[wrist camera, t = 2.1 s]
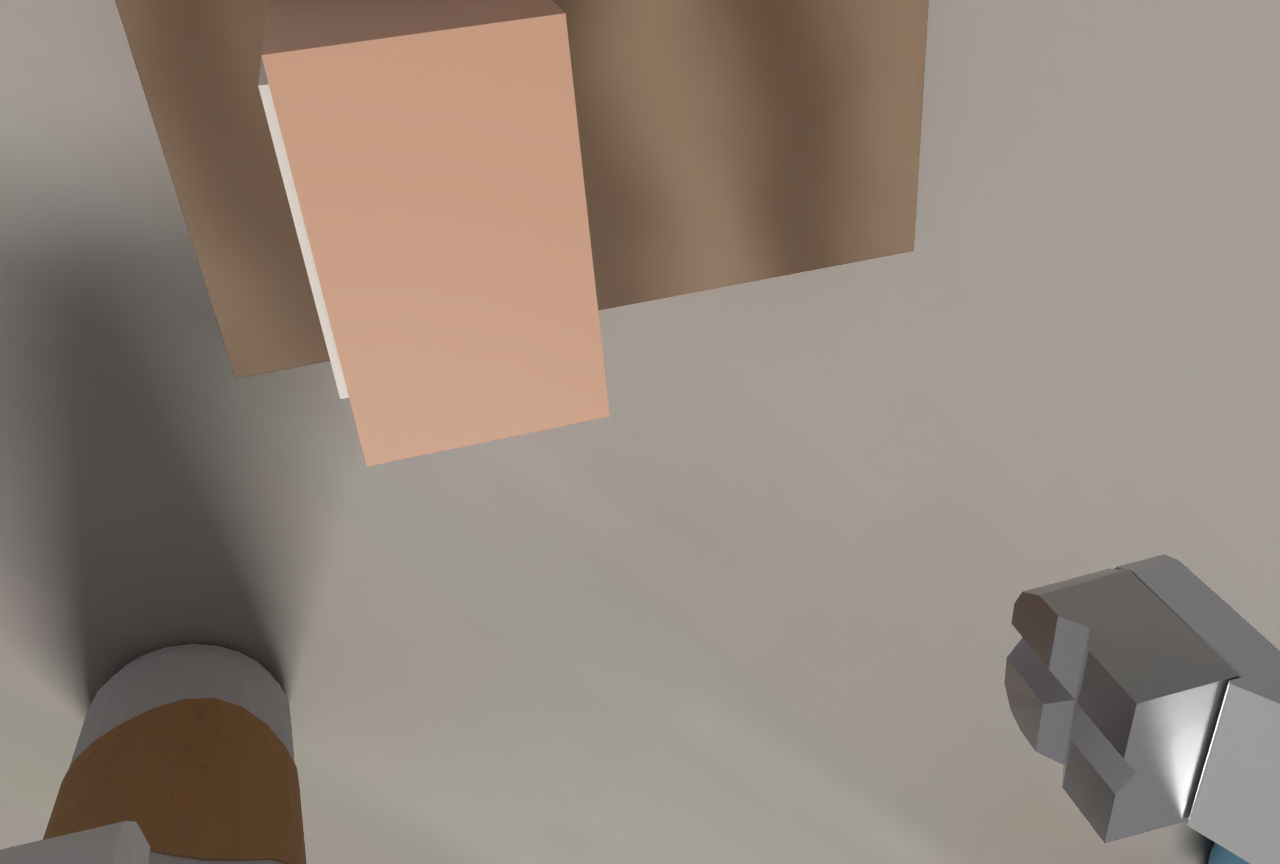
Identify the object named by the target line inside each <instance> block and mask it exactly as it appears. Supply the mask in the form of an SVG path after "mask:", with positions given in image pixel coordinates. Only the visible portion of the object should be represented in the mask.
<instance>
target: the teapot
mask: <svg viewBox="0 0 1280 864" xmlns="http://www.w3.org/2000/svg"><path fill="white" fill-rule="evenodd" d="M1208 864H1250V863H1248V862H1247V861H1245V860H1243V859H1242V858H1240V857H1238V856H1237V855H1235V854H1234V853H1232V852H1230V851H1229V850H1227V849H1225V848H1224V847H1222V846H1220V845H1219V844H1217V843H1215V842H1214V845H1213V847H1212V849H1211V852H1210V856H1209V863H1208Z"/></svg>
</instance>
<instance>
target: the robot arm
mask: <svg viewBox="0 0 1280 864" xmlns="http://www.w3.org/2000/svg"><path fill="white" fill-rule="evenodd" d="M1012 625H1013V626H1014V627H1015V628H1016V630H1017V631H1018V632H1019V633H1020V634H1021V636H1022V637H1023V638H1022V639H1021V640H1020V642H1019V643H1018V644H1017V645H1016V647H1015V648H1014V649H1013V650H1012V652H1011V653H1010V654H1009V656H1008V657H1007V661H1006V673H1005V687H1006V691H1007V696H1008V700H1009V704H1010V708H1011V711H1012V713H1013V716H1014V718H1015V720H1016V722H1017V724H1018V726H1019V728H1020V730H1021V731H1022V733H1023V734H1024V736H1025V737H1026V738H1027V740H1028V741H1029V743H1030V744H1031V745H1032V747H1033V748H1034V750H1035V751H1036V752H1038V753H1040V754H1042V755H1045V756H1047V757H1049V758H1051V759H1053V760H1055V761H1057V762H1059V763H1061V764H1063V765H1064V768H1063V789H1064V790H1065V791H1066V792H1067V794H1068V795H1069V796H1070V798H1071V799H1072V800H1073V802H1074V803H1075V804H1076V806H1077V807H1078V808H1079V810H1080V811H1081V812H1082V814H1083V815H1084V816H1085V818H1086V819H1087V820H1088V822H1089V823H1090V824H1091V826H1092V827H1093V828H1094V829H1095V831H1096V832H1097V833H1098V835H1099V836H1100V837H1101V839H1102V840H1103V841H1104V843H1107V842H1111V841H1114V840H1118V839H1122V838H1125V837H1129V836H1133V835H1137V834H1140V833H1144V832H1148V831H1151V830H1155V829H1159V828H1162V827H1166V826H1170V825H1173V824H1177V823H1181V822H1185V821H1188V820H1189V821H1188V824H1187V826H1189V827H1190V828H1192V829H1194V830H1195V831H1197V832H1199V833H1200V834H1202V835H1204V836H1205V837H1207V838H1209V839H1210V840H1212V841H1214V842H1215V843H1217V844H1219V845H1220V846H1222V847H1224V848H1225V849H1227V850H1229V851H1230V852H1232V853H1234V854H1235V855H1237V856H1238V857H1240V858H1242V859H1243V860H1245V861H1247V862H1248V863H1250V864H1280V651H1279V650H1278V649H1277V648H1276V647H1275V646H1274V645H1272V644H1271V643H1270V642H1269V641H1268V640H1267V639H1266V638H1265V637H1264V636H1262V635H1261V634H1260V633H1259V632H1258V631H1257V630H1256V629H1255V628H1254V627H1252V626H1251V625H1250V624H1249V623H1248V622H1247V621H1246V620H1245V619H1244V618H1242V617H1241V616H1240V615H1239V614H1238V613H1237V612H1236V611H1235V610H1233V609H1232V608H1231V607H1230V606H1229V605H1228V604H1227V603H1226V602H1225V601H1223V600H1222V599H1221V598H1220V597H1219V596H1218V595H1217V594H1216V593H1215V592H1213V591H1212V590H1211V589H1210V588H1209V587H1208V586H1207V585H1206V584H1205V583H1203V582H1202V581H1201V580H1200V579H1199V578H1198V577H1197V576H1196V575H1194V574H1193V573H1192V572H1191V571H1190V570H1189V569H1188V568H1187V567H1186V566H1184V565H1183V564H1182V563H1181V562H1180V561H1178V560H1177V559H1174V558H1171V557H1169V556H1166V555H1160V556H1156V557H1153V558H1149V559H1145V560H1141V561H1137V562H1134V563H1130V564H1126V565H1122V566H1118V567H1116V568H1115V569H1106V570H1102V571H1099V572H1095V573H1091V574H1087V575H1084V576H1080V577H1076V578H1072V579H1069V580H1065V581H1061V582H1057V583H1054V584H1050V585H1046V586H1042V587H1039V588H1035V589H1031V590H1027V591H1024V592H1022V593H1021V595H1020V596H1019V598H1018V599H1017V601H1016V602H1015V604H1014V611H1013V617H1012ZM149 852H150V845H149V844H148V842H147V840H146V838H145V836H144V835H143V833H142V831H141V829H140V828H139V826H138V824H137V822H134V821H123V822H119V823H114V824H110V825H106V826H101V827H97V828H93V829H88V830H84V831H80V832H75V833H71V834H67V835H62V836H58V837H54V838H49V839H45V840H40V841H36V842H32V843H27V844H23V845H19V846H14V847H10V848H6V849H1V850H0V864H148V860H149Z"/></svg>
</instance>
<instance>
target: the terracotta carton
mask: <svg viewBox="0 0 1280 864" xmlns="http://www.w3.org/2000/svg"><path fill="white" fill-rule="evenodd" d="M261 56H262V59H261V67H260V75H259V83H258V87H259V91H260V95H261V98H262V102H263V106H264V110H265V114H266V118H267V121H268V125H269V129H270V133H271V137H272V140H273V144H274V148H275V152H276V156H277V160H278V163H279V167H280V171H281V175H282V179H283V182H284V186H285V190H286V194H287V198H288V201H289V205H290V209H291V213H292V217H293V221H294V224H295V228H296V232H297V236H298V240H299V243H300V247H301V251H302V255H303V259H304V263H305V266H306V270H307V274H308V278H309V282H310V285H311V289H312V293H313V297H314V301H315V304H316V308H317V312H318V316H319V320H320V324H321V327H322V331H323V335H324V339H325V343H326V346H327V350H328V354H329V358H330V362H331V366H332V369H333V373H334V377H335V381H336V385H337V388H338V392H339V396H340V399H343V398H348V397H349V399H350V403H351V407H352V410H353V414H354V418H355V422H356V426H357V430H358V434H359V438H360V442H361V446H362V449H363V453H364V457H365V461H366V465H367V466H372V465H376V464H381V463H386V462H391V461H396V460H401V459H405V458H410V457H415V456H420V455H425V454H430V453H435V452H439V451H444V450H449V449H454V448H459V447H464V446H469V445H473V444H478V443H483V442H488V441H493V440H498V439H502V438H507V437H512V436H517V435H522V434H527V433H532V432H536V431H541V430H546V429H551V428H556V427H561V426H566V425H570V424H575V423H580V422H585V421H590V420H595V419H599V418H604V417H609V416H610V414H609V405H608V396H607V387H606V377H605V368H604V359H603V350H602V341H601V332H600V323H599V314H598V304H597V295H596V286H595V277H594V268H593V259H592V250H591V241H590V232H589V222H588V213H587V204H586V195H585V186H584V177H583V168H582V159H581V149H580V140H579V131H578V122H577V113H576V104H575V95H574V86H573V77H572V67H571V58H570V49H569V40H568V31H567V22H566V13H565V12H564V11H563V10H562V9H561V8H559V7H558V6H557V5H556V4H555V3H554V2H553V1H552V0H268V7H267V14H266V22H265V30H264V38H263V46H262V54H261Z"/></svg>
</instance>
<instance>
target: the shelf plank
mask: <svg viewBox="0 0 1280 864" xmlns="http://www.w3.org/2000/svg"><path fill="white" fill-rule="evenodd" d="M552 1H553V2H554V3H555V4H556V5H557V6H558V7H559V8H561V9H562V10H563V11H564V12H565V13H566V22H567V31H568V40H569V49H570V58H571V67H572V77H573V86H574V95H575V104H576V113H577V122H578V131H579V140H580V149H581V159H582V168H583V177H584V186H585V195H586V204H587V213H588V222H589V232H590V241H591V250H592V259H593V268H594V277H595V286H596V295H597V304H598V310H602V309H608V308H613V307H618V306H624V305H629V304H634V303H640V302H645V301H650V300H656V299H661V298H666V297H672V296H677V295H682V294H687V293H693V292H698V291H703V290H709V289H714V288H719V287H725V286H730V285H735V284H741V283H746V282H751V281H757V280H762V279H767V278H772V277H778V276H783V275H788V274H794V273H799V272H804V271H810V270H815V269H820V268H826V267H831V266H836V265H842V264H847V263H852V262H857V261H863V260H868V259H873V258H879V257H884V256H889V255H895V254H900V253H905V252H911V251H914V238H915V222H916V205H917V188H918V171H919V154H920V138H921V121H922V104H923V87H924V70H925V54H926V37H927V20H928V3H929V0H552ZM115 2H116V5H117V8H118V11H119V14H120V17H121V20H122V24H123V27H124V30H125V33H126V36H127V39H128V42H129V46H130V49H131V52H132V55H133V58H134V61H135V64H136V68H137V71H138V74H139V77H140V80H141V83H142V86H143V90H144V93H145V96H146V99H147V102H148V105H149V108H150V112H151V115H152V118H153V121H154V124H155V127H156V131H157V134H158V137H159V140H160V143H161V146H162V149H163V153H164V156H165V159H166V162H167V165H168V168H169V171H170V175H171V178H172V181H173V184H174V187H175V190H176V193H177V197H178V200H179V203H180V206H181V209H182V212H183V215H184V219H185V222H186V225H187V228H188V231H189V234H190V237H191V241H192V244H193V247H194V250H195V253H196V256H197V259H198V263H199V266H200V269H201V272H202V275H203V278H204V281H205V285H206V288H207V291H208V294H209V297H210V300H211V303H212V307H213V310H214V313H215V316H216V319H217V322H218V325H219V329H220V332H221V335H222V338H223V341H224V344H225V347H226V351H227V354H228V357H229V360H230V363H231V366H232V369H233V373H234V376H235V379H236V378H241V377H247V376H252V375H257V374H263V373H268V372H273V371H278V370H284V369H289V368H294V367H300V366H305V365H310V364H316V363H321V362H326V361H330V358H329V354H328V350H327V346H326V343H325V339H324V335H323V331H322V327H321V324H320V320H319V316H318V312H317V308H316V304H315V301H314V297H313V293H312V289H311V285H310V282H309V278H308V274H307V270H306V266H305V263H304V259H303V255H302V251H301V247H300V243H299V240H298V236H297V232H296V228H295V224H294V221H293V217H292V213H291V209H290V205H289V201H288V198H287V194H286V190H285V186H284V182H283V179H282V175H281V171H280V167H279V163H278V160H277V156H276V152H275V148H274V144H273V140H272V137H271V133H270V129H269V125H268V121H267V118H266V114H265V110H264V106H263V102H262V98H261V95H260V91H259V87H258V83H259V75H260V67H261V59H262V56H261V54H262V46H263V38H264V30H265V22H266V14H267V7H268V0H115Z"/></svg>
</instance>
